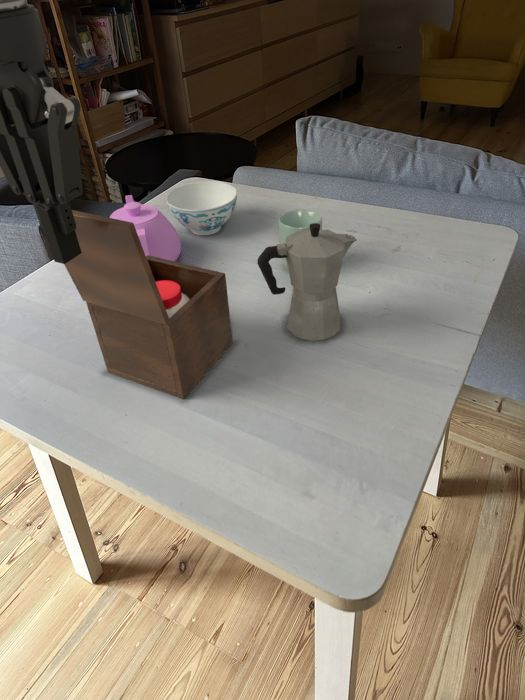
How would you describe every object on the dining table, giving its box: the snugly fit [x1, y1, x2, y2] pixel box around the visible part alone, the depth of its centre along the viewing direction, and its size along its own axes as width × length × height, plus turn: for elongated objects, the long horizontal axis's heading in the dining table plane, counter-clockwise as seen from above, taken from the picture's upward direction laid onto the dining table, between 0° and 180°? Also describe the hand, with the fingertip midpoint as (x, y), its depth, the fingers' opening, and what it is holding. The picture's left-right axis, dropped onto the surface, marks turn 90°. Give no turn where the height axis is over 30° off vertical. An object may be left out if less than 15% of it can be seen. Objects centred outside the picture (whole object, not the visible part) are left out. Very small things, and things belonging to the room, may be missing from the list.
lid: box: [63, 209, 170, 325], centre depth 65 cm, size 15×14×1 cm
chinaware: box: [165, 180, 238, 236], centre depth 115 cm, size 15×15×8 cm
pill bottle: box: [156, 280, 190, 319], centre depth 80 cm, size 8×8×11 cm
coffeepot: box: [257, 223, 357, 342], centre depth 82 cm, size 15×9×18 cm, turn 106°
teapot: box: [109, 194, 182, 262], centre depth 104 cm, size 22×16×12 cm
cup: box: [277, 208, 323, 269], centre depth 100 cm, size 8×8×10 cm
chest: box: [85, 255, 234, 400], centre depth 79 cm, size 14×14×13 cm
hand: (68, 257), depth 59 cm, fingers closed
